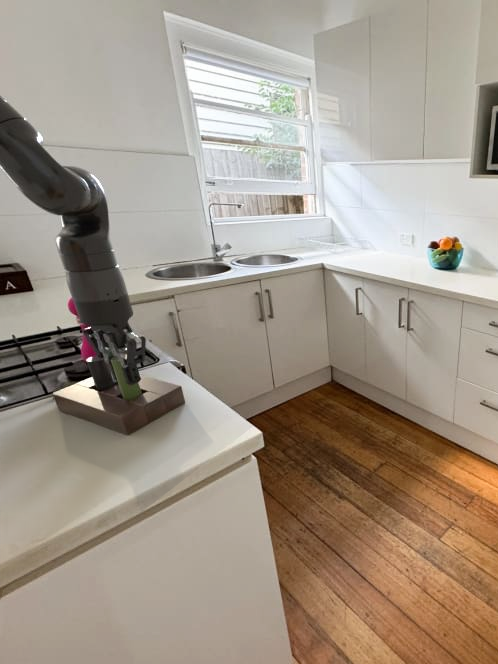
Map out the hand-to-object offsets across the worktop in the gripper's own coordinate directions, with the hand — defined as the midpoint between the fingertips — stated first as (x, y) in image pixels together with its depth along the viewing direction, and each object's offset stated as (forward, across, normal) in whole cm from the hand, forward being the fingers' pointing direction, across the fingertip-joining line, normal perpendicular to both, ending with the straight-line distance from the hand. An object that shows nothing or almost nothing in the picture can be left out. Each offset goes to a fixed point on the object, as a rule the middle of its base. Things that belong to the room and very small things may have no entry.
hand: (127, 380), depth 72 cm
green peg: (+5, 0, 0) cm, 5 cm away
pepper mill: (+7, -23, +9) cm, 26 cm away
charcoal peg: (+7, -8, 0) cm, 10 cm away
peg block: (+7, -4, 0) cm, 8 cm away
